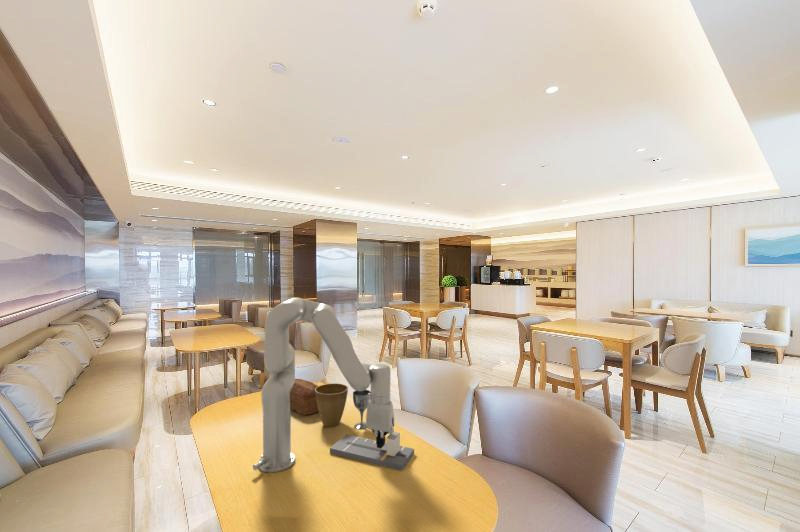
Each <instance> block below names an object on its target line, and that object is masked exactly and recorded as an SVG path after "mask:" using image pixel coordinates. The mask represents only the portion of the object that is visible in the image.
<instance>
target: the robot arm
mask: <svg viewBox="0 0 800 532" xmlns="http://www.w3.org/2000/svg"><path fill="white" fill-rule="evenodd" d="M298 321H302V322H307V323H310V324H312V326H313V327H314V329H315V330H316V331H317V334H318V335H319V336H320V338H321V340H322V341H323V343H324V344H325V345H326V348H327V349H328V351H329V352H330V354H331V356H332V358H333V359H334V361H335V363H336V365H337V366H338V368H339V371H340V372H341V374H342V375H343V376H344V379H345V380H346V382H347V383H348V384H349V386H350V387H351V388H352V389H353V390H354V391H364V390H368V388H369V387H370V392H371V393H368V397H370V400H369V402H368V407H367V408H366V417H365V423H366V426H367V429H368V430H369V431H372V433H373V434H374V437H375V439H376V440H375V441H376V444H377V448H380V449H381V448H382V447H383V446H384V445H385V443H386V435H387V436H388V435H390V434H392V433H393V432H395V429H394V427H395V411H394V405H393V402H392V400H391V367H390V365H388V364H385V363H377V364H372V363H371V364H370V363H362V362H361V360H360V359H359V357H358V356H357V354H356V352H355V349H354V346H353V343H352V340H351V338H350V336H349V335H348V333H347V332H346V330H345V329H344V327H343V326H342V324H341V323H340V321H339V320H338V317H336V312H335V310H334V308H333V307H332V306H331V305H329V304H326V303H320V302H317V301H313V300H309V299H305V298H301V297H292V298H289V299H287V300H284V301H283V302H281V303H279V304H277V305H276V306H274V307H273V308H271V310H269V312H268V314H267V316H266V318H265V322H264V343H263V344H264V351H263V352H264V353H263V363H264V367H265V369H266V371H268V372H269V378H268V379H267V380H266V381H265V383H264V385H263V387H262V389H261V394H260V395H261V406H262V407H261V408H262V453H263V454H262V453H261V455H260V459H259V461H257V462H256V463H255V464H253V465H252V469H253V470H254V471H257V470H258V469H259V470H260V471H262V472H265V473H277V472H281V471H282V472H283V471H284V470H287V469H289V468H290V467H291V466H292V465H293V464H294V463H295V462H296V455H295V453H293V452H292V451H291V450H292V448H291V446H292V443H291V442H292V441H291V440H292V437H291V434H292V433H291V431H292V430H291V429H292V427H291V422H292V421H291V419H292V418H291V417H292V416H291V408H290V392H291V390H292V388H293V385H294V382H295V379H296V369H295V368H296V354H295V350H294V346H292V344H291V343H290V330H289V329H290V326H291V325H292V324H294V323H297V322H298Z"/></svg>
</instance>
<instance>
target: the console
mask: <svg viewBox="0 0 800 532" xmlns="http://www.w3.org/2000/svg"><path fill="white" fill-rule="evenodd" d="M329 454H331V455H335V456H339V457H344V458H347V459H352V460H356V461H359V462H363V463H364V462H365V463H368V464H372V465H375V466H380V467H385V468H388V469H392V470H396V471H400V472H402V471H403V470H404V469H405V467H406V466H407V465H408V464H409V462H410V461H411V459H412V458H413V456H414V455H415V448H413V447H407V446H403V445H400V450H399V451H398V453H397V454H396V455H395V456H390V455H387V442H385V445H384V446H383V447H382V448H381V449H380V448H377V444H376V440H374V439H370V438H366V437H360V436H358V435H357V436H356V435H351V434H345V435H344V436H342V437H341V438H340V439H339V440H338V441H336V442H335V443H334V444H333V445H331V446H330V447H329Z"/></svg>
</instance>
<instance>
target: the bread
mask: <svg viewBox="0 0 800 532" xmlns="http://www.w3.org/2000/svg"><path fill="white" fill-rule="evenodd" d="M318 386H319V385H318V384H316V383H314V382H312V381H309V380H305V379H302V378H295V382H294V385H293V388H292V390H291V392H290V409H292V410H294V411H296V412H297V413H299V414H301V415H304V416H308V415H312V414H313V415H314V414H316V413H319V410H318V406H317V401H316V395H315V389H316V388H317V387H318Z"/></svg>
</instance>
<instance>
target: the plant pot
mask: <svg viewBox="0 0 800 532" xmlns="http://www.w3.org/2000/svg"><path fill="white" fill-rule="evenodd" d="M317 386H318V387H317V388H316V389H315V395H316V401H317V406H318V410H319V412H318V414H319V417H320V420H321V423H322V425H323V426H324V427H326V428H333V427H337V426H339V424H340V423H341V420H342V417H343V414H344V410H345V407H346V403H347V398H348V391H349V386H348V385H346V384H342V383H325V384H321V385H317Z"/></svg>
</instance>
